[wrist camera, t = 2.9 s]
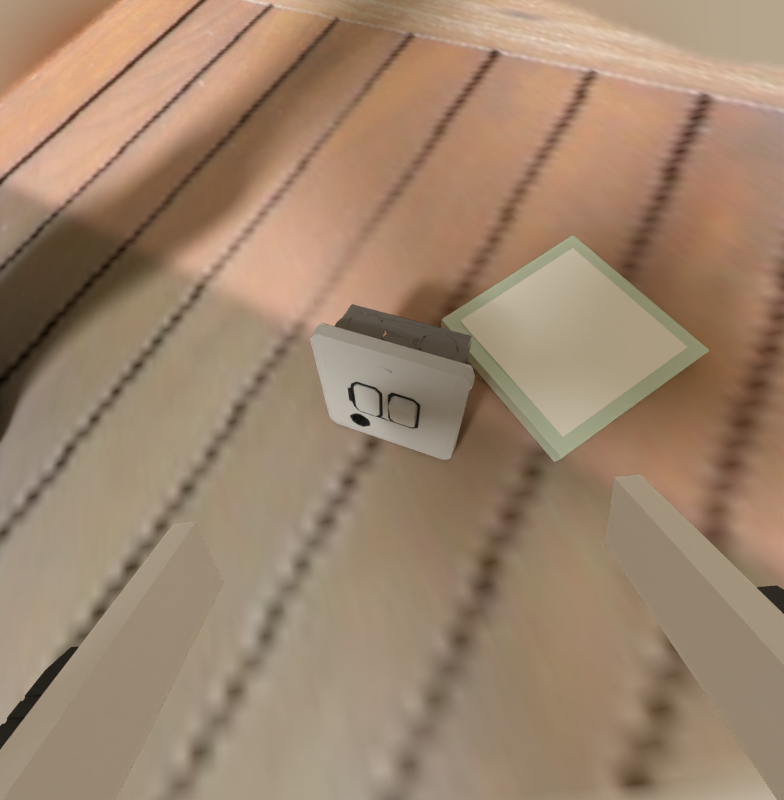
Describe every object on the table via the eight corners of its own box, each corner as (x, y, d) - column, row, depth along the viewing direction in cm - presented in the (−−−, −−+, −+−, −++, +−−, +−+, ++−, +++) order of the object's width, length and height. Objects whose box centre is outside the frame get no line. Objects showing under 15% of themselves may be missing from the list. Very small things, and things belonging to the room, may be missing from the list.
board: (440, 329, 30) (441, 318, 28) (566, 248, 31) (573, 233, 30) (554, 462, 25) (562, 457, 24) (695, 360, 27) (710, 349, 25)
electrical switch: (330, 422, 28) (292, 356, 20) (357, 366, 30) (333, 285, 22) (450, 464, 26) (464, 410, 18) (470, 401, 28) (492, 326, 20)
